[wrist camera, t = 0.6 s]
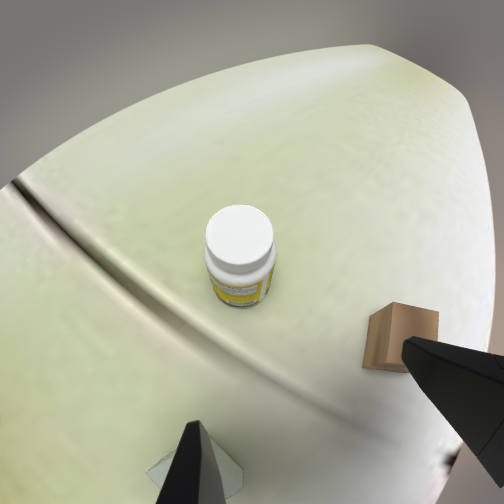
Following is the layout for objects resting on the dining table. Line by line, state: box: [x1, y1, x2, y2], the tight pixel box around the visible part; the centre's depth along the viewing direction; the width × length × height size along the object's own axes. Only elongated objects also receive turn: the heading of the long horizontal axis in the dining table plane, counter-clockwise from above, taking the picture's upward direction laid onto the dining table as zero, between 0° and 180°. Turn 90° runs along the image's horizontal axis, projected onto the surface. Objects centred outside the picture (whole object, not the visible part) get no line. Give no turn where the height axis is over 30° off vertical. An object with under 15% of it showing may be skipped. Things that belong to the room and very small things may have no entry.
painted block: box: [146, 436, 243, 500], centre depth 15 cm, size 4×4×4 cm
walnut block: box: [362, 302, 439, 373], centre depth 20 cm, size 4×4×4 cm
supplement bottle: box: [204, 205, 277, 308], centre depth 20 cm, size 5×5×8 cm
